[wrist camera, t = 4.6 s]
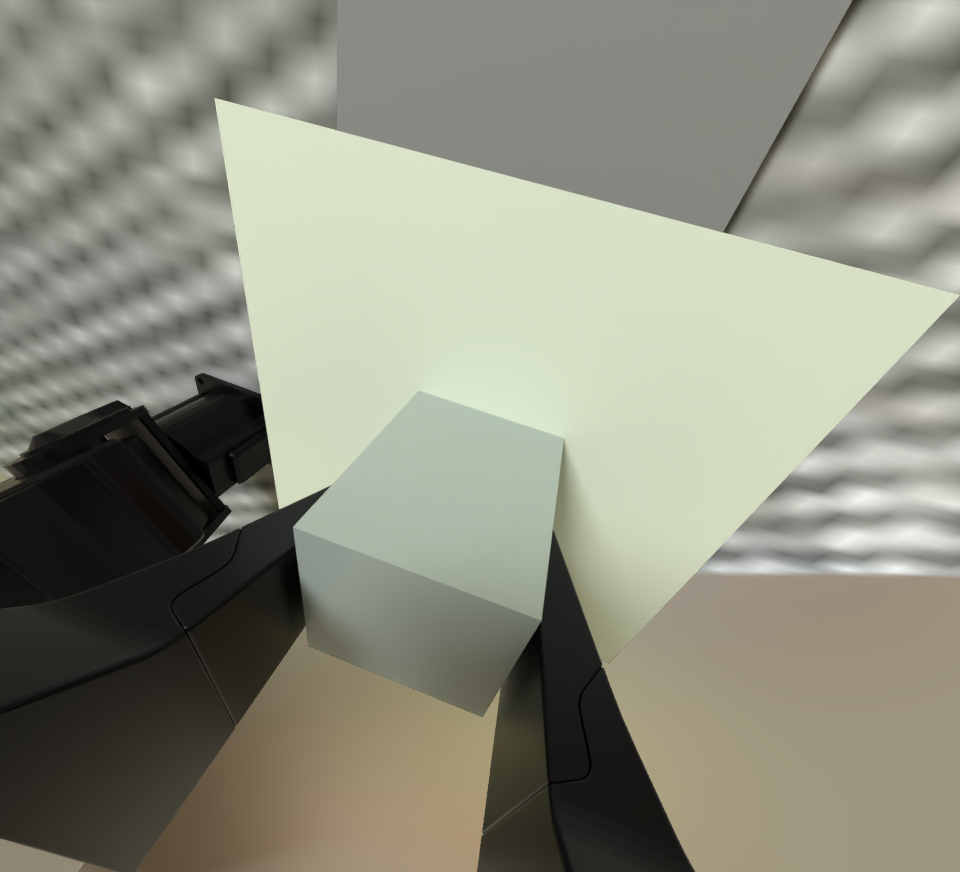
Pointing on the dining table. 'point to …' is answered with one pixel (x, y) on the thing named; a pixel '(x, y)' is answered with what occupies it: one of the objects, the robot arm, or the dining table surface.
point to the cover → (521, 392)
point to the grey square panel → (586, 90)
